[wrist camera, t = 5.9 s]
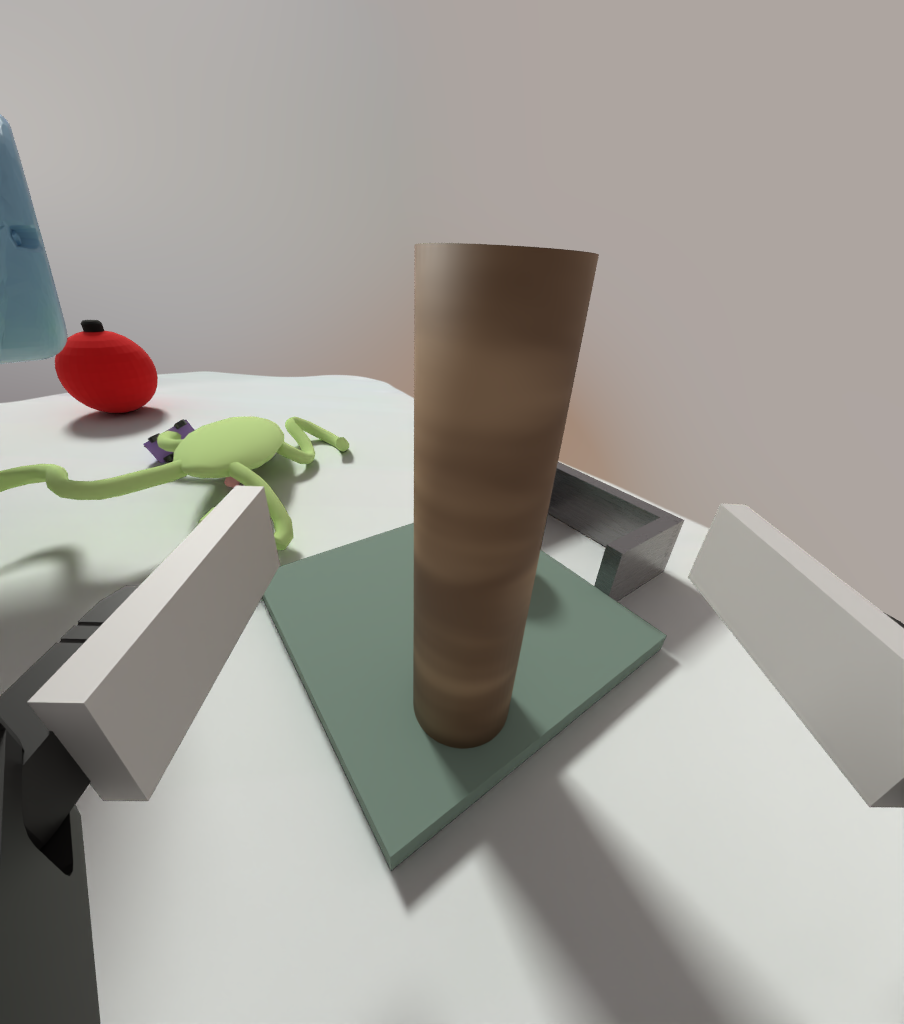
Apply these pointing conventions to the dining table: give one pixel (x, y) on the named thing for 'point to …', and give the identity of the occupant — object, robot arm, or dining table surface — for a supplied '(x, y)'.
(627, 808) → the dining table surface
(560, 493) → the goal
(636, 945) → the dining table surface
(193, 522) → the dining table surface
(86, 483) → the figurine
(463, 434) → the peg
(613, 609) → the mat
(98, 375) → the ornament
